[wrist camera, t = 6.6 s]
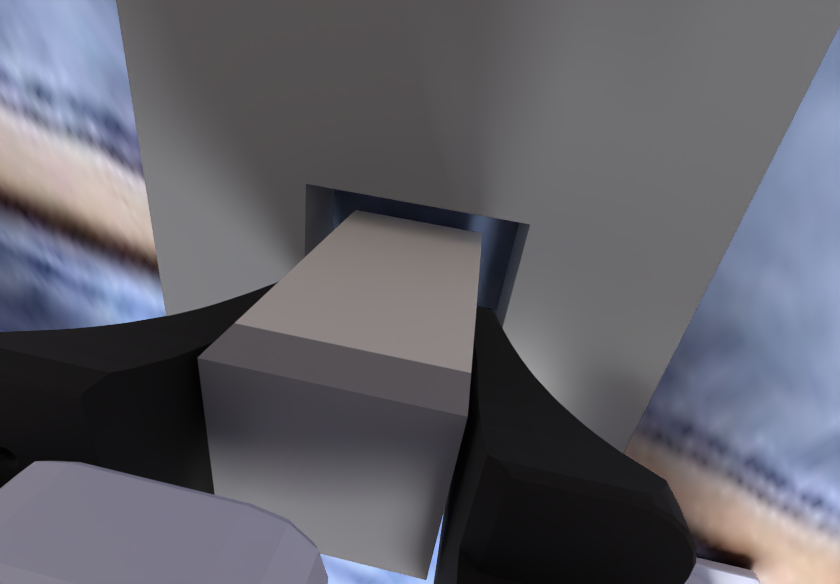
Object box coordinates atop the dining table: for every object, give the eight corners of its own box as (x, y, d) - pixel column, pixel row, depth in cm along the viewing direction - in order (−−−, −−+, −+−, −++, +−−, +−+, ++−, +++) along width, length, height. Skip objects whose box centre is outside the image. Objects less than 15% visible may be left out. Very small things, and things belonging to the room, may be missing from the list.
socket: (567, 490, 19) (576, 545, 16) (222, 411, 20) (188, 453, 18) (785, 0, 10) (863, -22, 8) (172, -83, 12) (97, -121, 9)
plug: (459, 341, 15) (426, 580, 8) (347, 318, 15) (219, 528, 8) (482, 233, 13) (467, 416, 6) (355, 209, 13) (197, 357, 6)
